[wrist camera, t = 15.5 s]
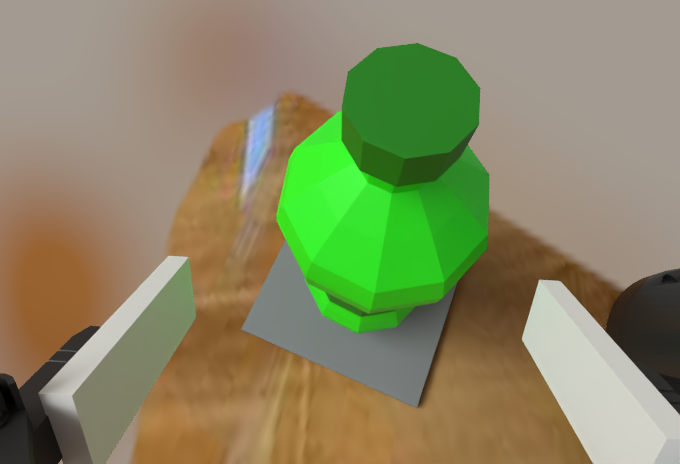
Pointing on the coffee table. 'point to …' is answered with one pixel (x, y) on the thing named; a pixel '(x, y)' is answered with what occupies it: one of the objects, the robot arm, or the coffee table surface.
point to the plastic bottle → (389, 190)
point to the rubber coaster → (347, 334)
